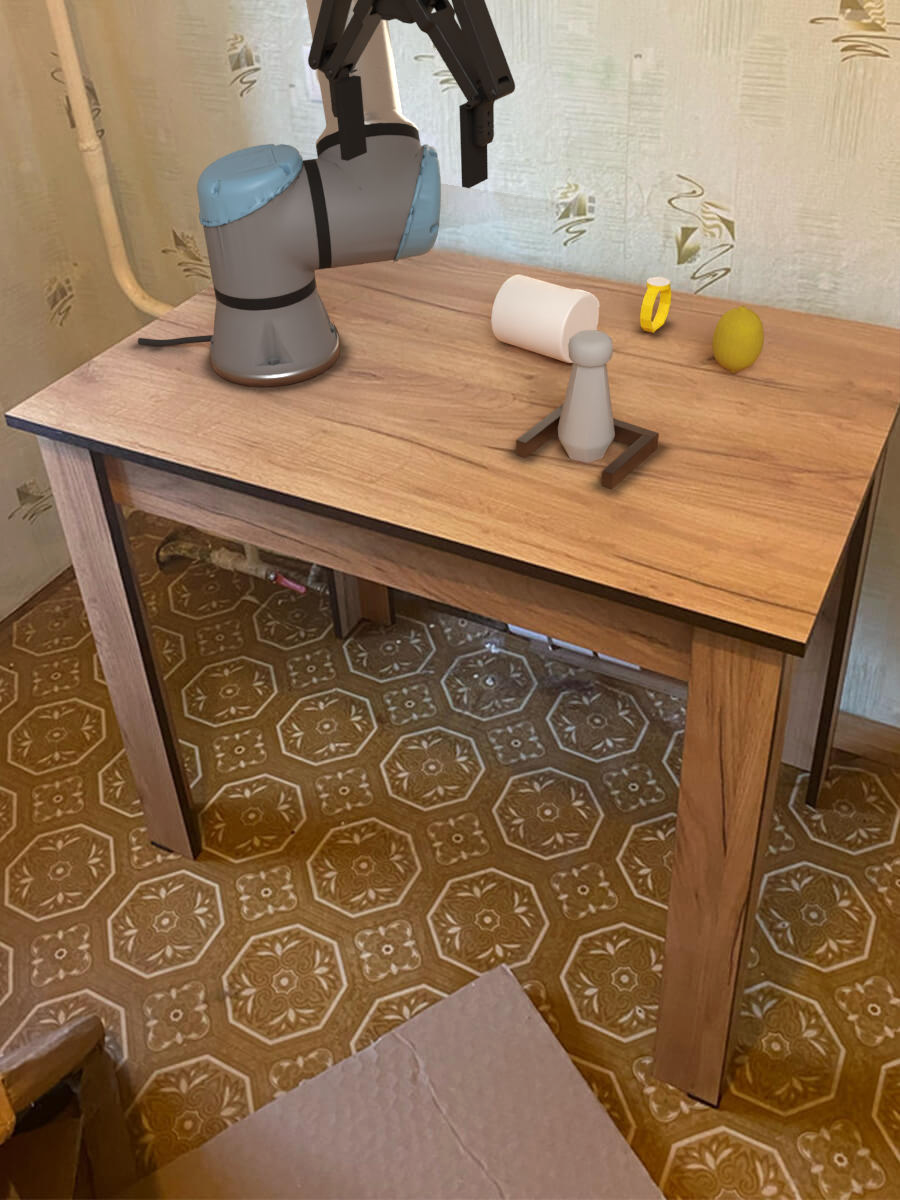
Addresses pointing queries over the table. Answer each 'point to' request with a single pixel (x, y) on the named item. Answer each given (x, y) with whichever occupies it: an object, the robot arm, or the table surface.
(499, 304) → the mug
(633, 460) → the walnut stop
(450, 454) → the table surface
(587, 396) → the salt shaker
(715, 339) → the lemon
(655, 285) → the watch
